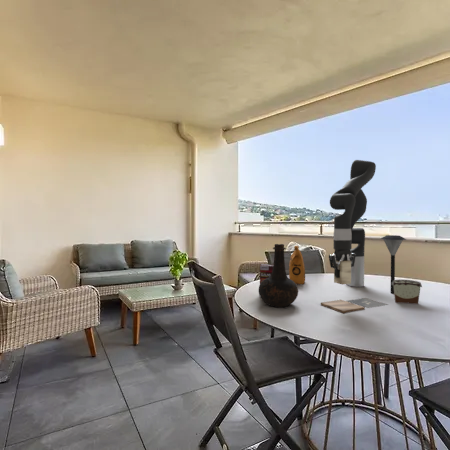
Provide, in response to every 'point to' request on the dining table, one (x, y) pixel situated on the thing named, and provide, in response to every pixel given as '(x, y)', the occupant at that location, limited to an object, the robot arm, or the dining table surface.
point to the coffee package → (297, 267)
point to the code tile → (367, 302)
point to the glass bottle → (278, 283)
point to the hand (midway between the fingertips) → (342, 276)
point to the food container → (406, 291)
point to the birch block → (344, 273)
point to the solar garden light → (392, 252)
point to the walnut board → (342, 306)
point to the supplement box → (265, 271)
